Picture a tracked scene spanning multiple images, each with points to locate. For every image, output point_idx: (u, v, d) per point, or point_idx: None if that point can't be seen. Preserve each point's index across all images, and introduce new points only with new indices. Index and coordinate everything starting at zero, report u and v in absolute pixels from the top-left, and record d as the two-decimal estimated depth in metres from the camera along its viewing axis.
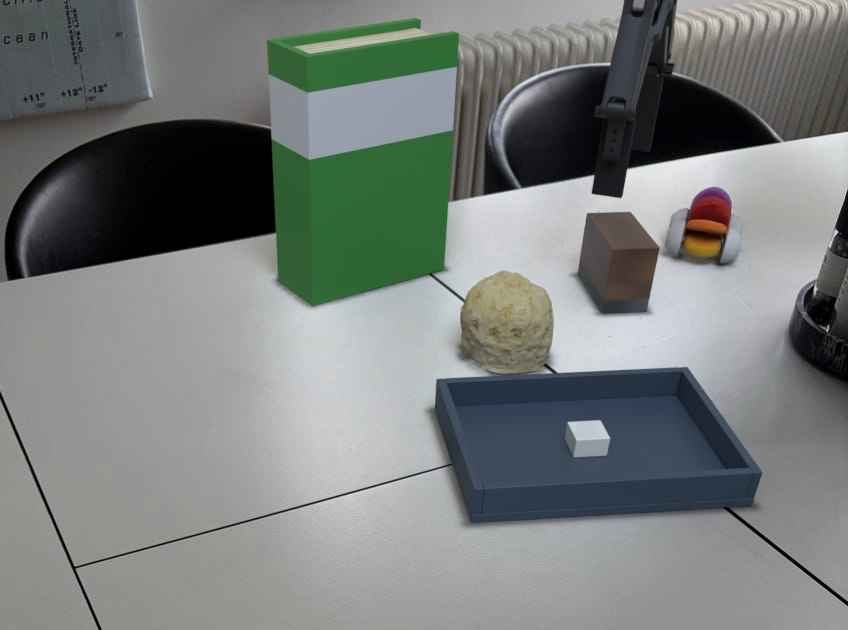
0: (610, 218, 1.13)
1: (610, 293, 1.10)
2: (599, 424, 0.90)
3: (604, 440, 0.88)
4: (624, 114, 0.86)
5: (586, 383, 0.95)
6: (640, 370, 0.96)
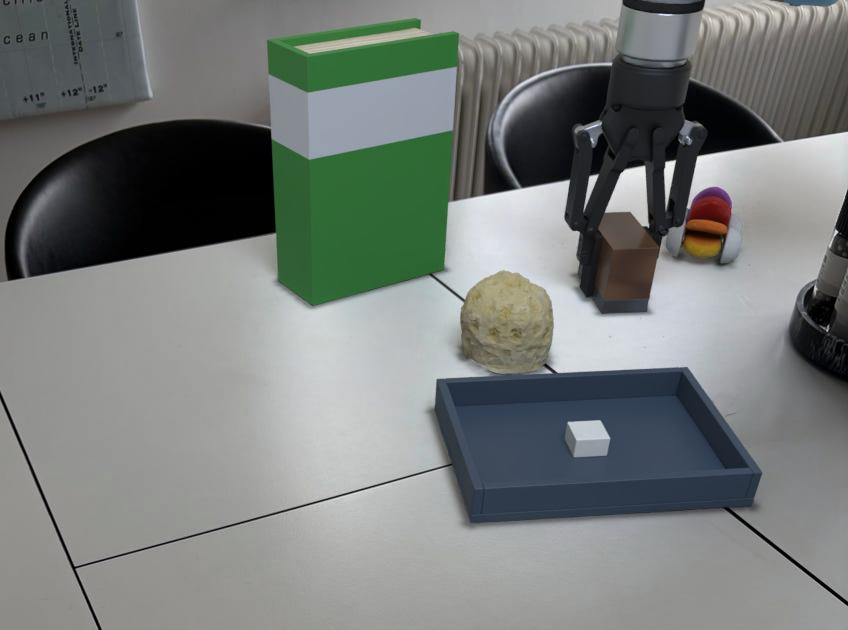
0: (610, 218, 1.13)
1: (610, 293, 1.10)
2: (599, 424, 0.90)
3: (604, 440, 0.88)
4: (569, 225, 1.09)
5: (586, 383, 0.95)
6: (640, 370, 0.96)
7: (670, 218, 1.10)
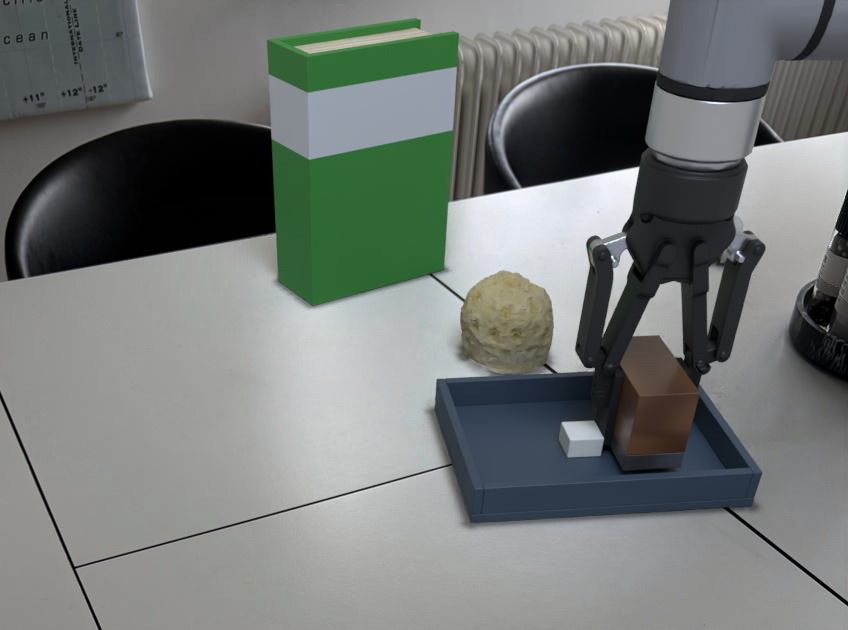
0: (633, 346, 0.88)
1: (634, 447, 0.85)
2: (593, 424, 0.90)
3: (598, 440, 0.88)
4: (581, 361, 0.84)
5: (586, 383, 0.95)
6: None
7: (712, 350, 0.85)
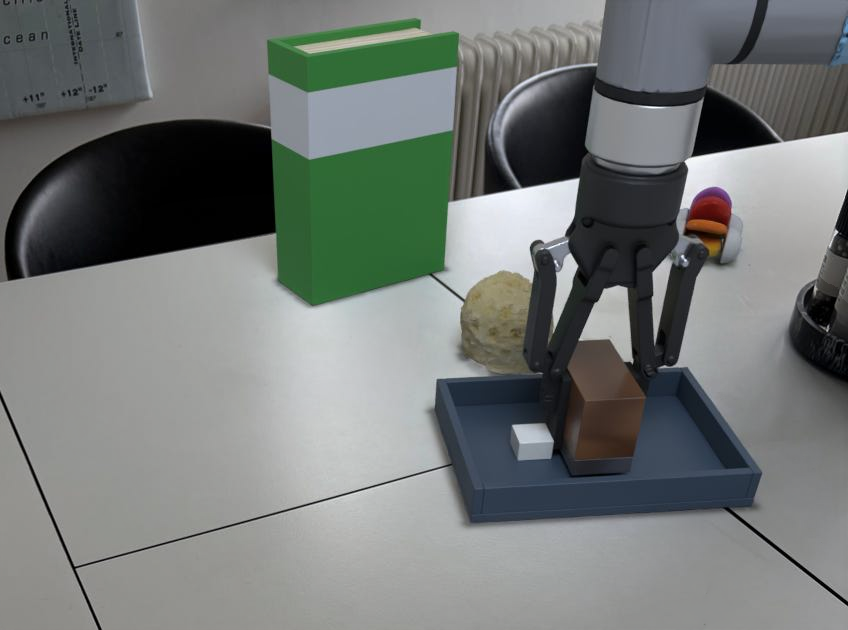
0: (583, 350, 0.87)
1: (582, 452, 0.85)
2: (544, 427, 0.89)
3: (548, 443, 0.88)
4: (528, 366, 0.83)
5: None
6: None
7: (660, 355, 0.84)
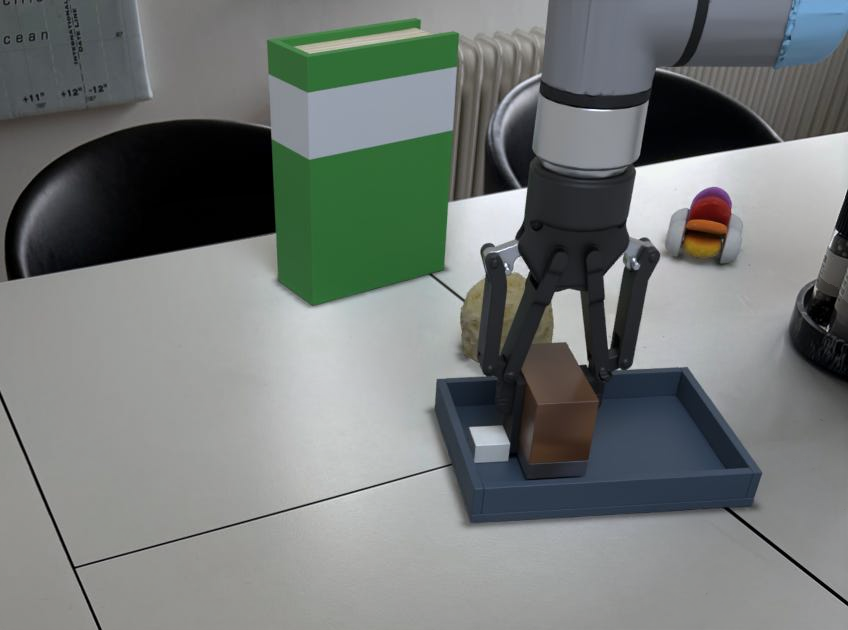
0: (539, 353, 0.87)
1: (536, 455, 0.84)
2: (501, 429, 0.89)
3: (504, 445, 0.87)
4: (482, 369, 0.83)
5: None
6: (640, 370, 0.96)
7: (615, 358, 0.84)
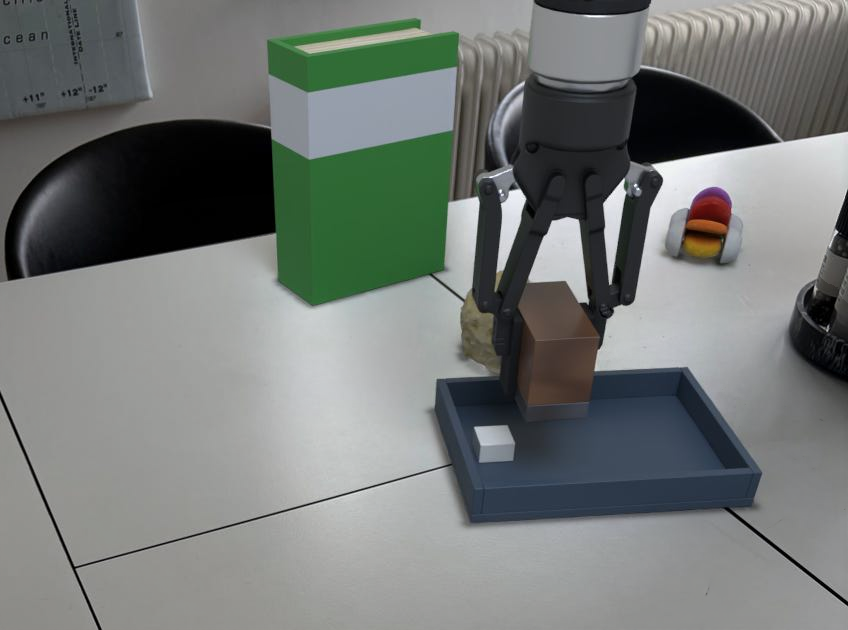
0: (537, 292, 0.83)
1: (535, 396, 0.81)
2: (505, 429, 0.89)
3: (509, 445, 0.87)
4: (477, 306, 0.79)
5: None
6: (640, 370, 0.96)
7: (616, 293, 0.80)
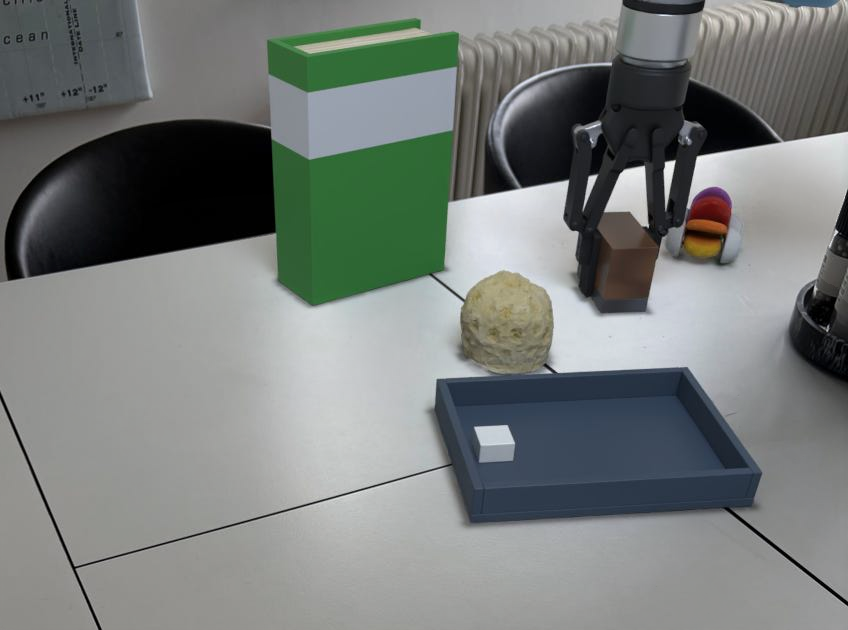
0: (609, 218, 1.13)
1: (609, 293, 1.10)
2: (505, 429, 0.89)
3: (509, 445, 0.87)
4: (568, 225, 1.09)
5: (586, 383, 0.95)
6: (640, 370, 0.96)
7: (670, 218, 1.10)
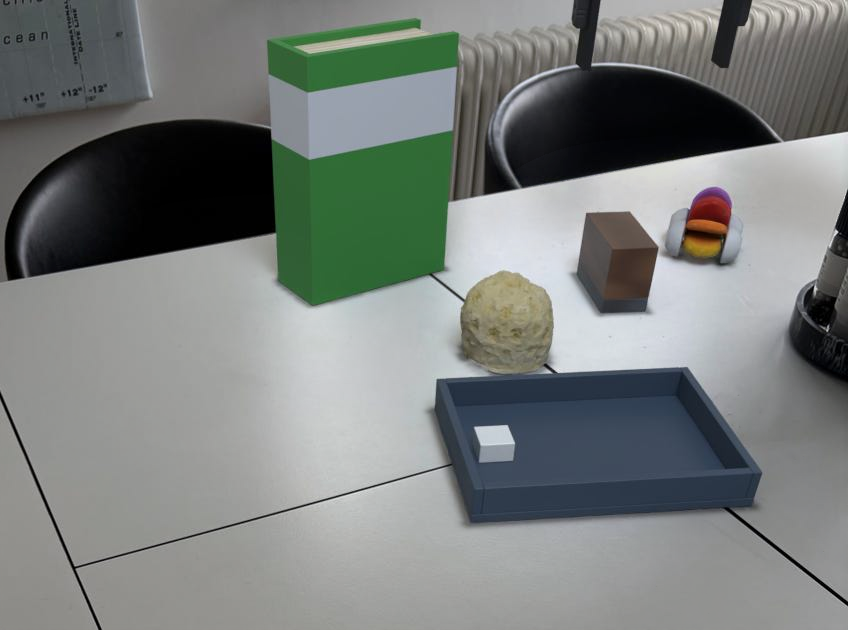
0: (609, 218, 1.13)
1: (609, 293, 1.10)
2: (505, 429, 0.89)
3: (509, 445, 0.87)
4: None
5: (586, 383, 0.95)
6: (640, 370, 0.96)
7: None
